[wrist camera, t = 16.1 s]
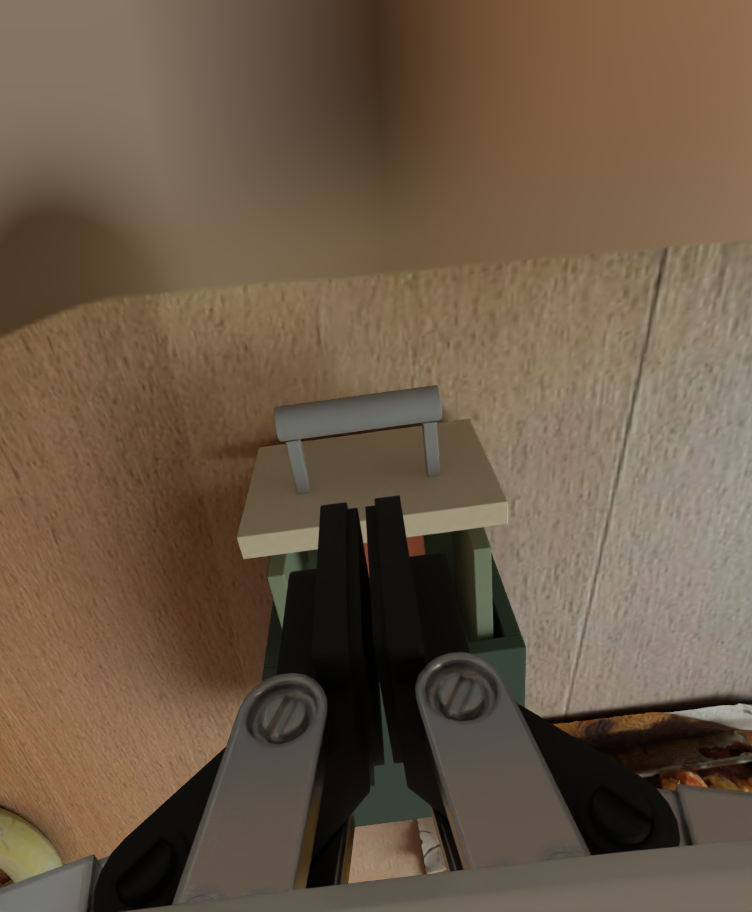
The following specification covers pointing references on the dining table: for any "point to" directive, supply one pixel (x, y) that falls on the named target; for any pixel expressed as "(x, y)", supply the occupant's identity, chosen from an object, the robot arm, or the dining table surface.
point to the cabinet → (390, 789)
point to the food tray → (657, 754)
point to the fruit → (24, 849)
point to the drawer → (377, 489)
